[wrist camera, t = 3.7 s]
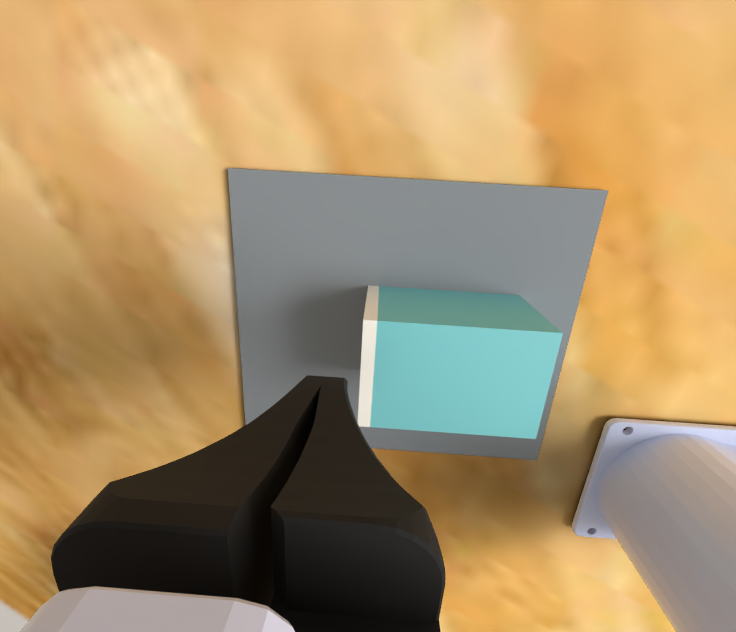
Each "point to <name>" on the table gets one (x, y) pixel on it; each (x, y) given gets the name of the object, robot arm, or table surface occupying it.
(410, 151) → the table surface
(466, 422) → the teal block
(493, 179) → the table surface
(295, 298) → the mat
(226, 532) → the robot arm
